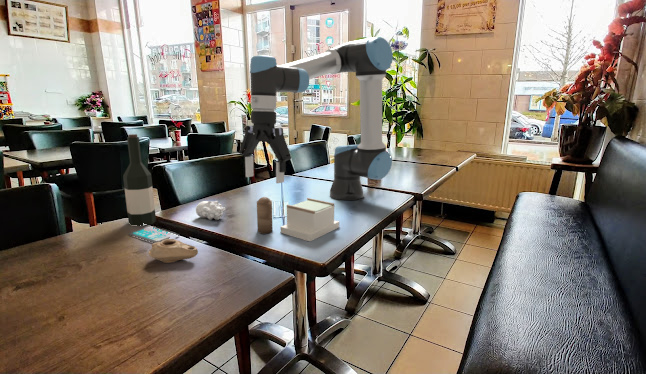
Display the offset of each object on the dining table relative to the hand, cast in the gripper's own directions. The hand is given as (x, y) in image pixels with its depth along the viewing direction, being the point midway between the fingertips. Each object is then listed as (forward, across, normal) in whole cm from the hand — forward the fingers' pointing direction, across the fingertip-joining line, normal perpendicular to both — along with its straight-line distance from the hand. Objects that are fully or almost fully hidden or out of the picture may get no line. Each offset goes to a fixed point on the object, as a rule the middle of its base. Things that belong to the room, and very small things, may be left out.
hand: (264, 179), depth 109 cm
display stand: (+17, +11, +10) cm, 22 cm away
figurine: (+18, -24, -3) cm, 30 cm away
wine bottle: (+18, -39, -20) cm, 47 cm away
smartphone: (+18, -24, -24) cm, 38 cm away
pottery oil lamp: (+18, -3, -30) cm, 35 cm away
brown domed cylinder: (+17, 0, 0) cm, 17 cm away
